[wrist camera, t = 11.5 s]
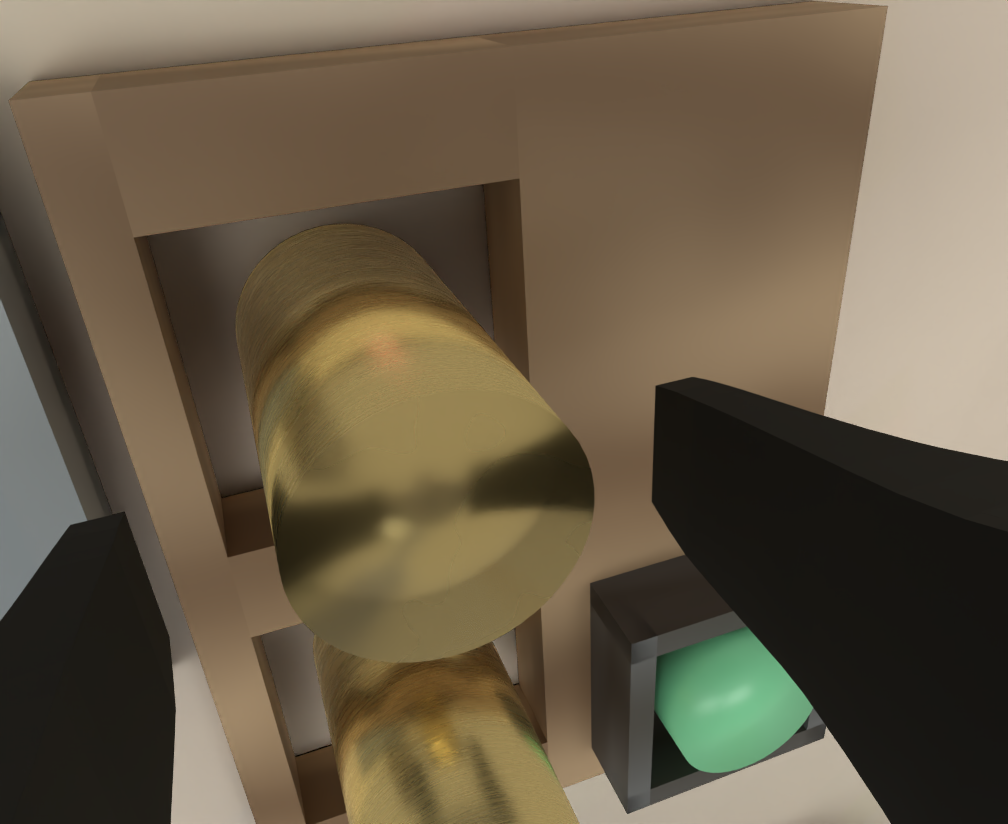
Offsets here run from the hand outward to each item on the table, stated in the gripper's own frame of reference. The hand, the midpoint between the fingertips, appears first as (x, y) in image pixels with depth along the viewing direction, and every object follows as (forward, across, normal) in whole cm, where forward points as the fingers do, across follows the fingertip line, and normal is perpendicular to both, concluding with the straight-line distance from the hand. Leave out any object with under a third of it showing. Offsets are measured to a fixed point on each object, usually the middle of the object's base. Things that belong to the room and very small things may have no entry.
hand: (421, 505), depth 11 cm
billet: (+6, 0, 0) cm, 6 cm away
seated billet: (+6, 0, +8) cm, 10 cm away
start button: (+4, -7, +9) cm, 12 cm away
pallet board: (+6, -3, +4) cm, 8 cm away
